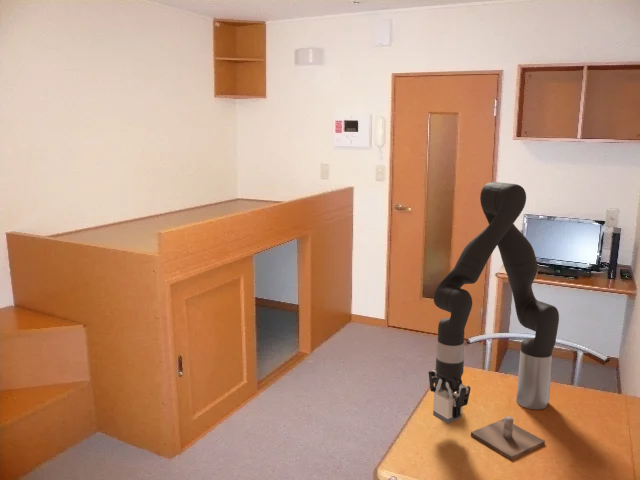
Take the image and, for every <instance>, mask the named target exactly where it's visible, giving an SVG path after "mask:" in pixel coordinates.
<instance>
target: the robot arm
mask: <svg viewBox="0 0 640 480" xmlns="http://www.w3.org/2000/svg"><path fill="white" fill-rule="evenodd" d="M479 196H480V206H481V209H482V211H483V214H484V216H485V218H486V220H487V223H488V225H487V226H486V227H485V229H483V230H482V231H481V232H480V233H479V234H478V235H476V236H475V237H474V238H473V239H471V240H470V241H469V242H468V243H467V245H466V246H465V247H463V250H462V252H461V254H460V256H459V258H458V259H457V261H456V263H455V265H454V267H453V268H452V269H451V271H449V273H447V275H446V276H445V277H444V278H443V279H442V280H441V281H440V282H439V283H438V285H437V286H436V288H435V290H434V293H433V303H434V305H435V307H437V308H438V309H440V310H443V311H445V312H448V313H450V317H445V318H442V319H440V321H439V322H438V324H437V325H438V326H437V342H436V343H437V344H436V350H435V352H436V353H435V369H431V370H429V371H428V380H429V390H430V392H433V393H434V392H437V391H439V392H440V391H442V390H446V391H447V392H448V393H449V396H450V398H451V399H453V410H452V417H453V418H457V417H459V416H460V414H461V407H462V408H463V407H464V406H467V405H468V403H469V398H470V393H471V389H472V388H471V387H470V386H469V385H467V386H466V385H465V384H464V383H463V381H462V376H463V374H464V369H465V368H464V365H465V364H464V363H465V329H466V325H467V323H468V319H469V316H470V314H471V310H472V308H473V299H472V295H471V293H470V292H469V291H468V290H466V289H464V288H461V287H463V286H464V285H473V284H476V282H478V280H479V279H480V277H481V275H482V273H483V271H484V268H485V267H486V265H487V262H488V260H489V259H490V257H491V256H492V254H493V252H494V250H495V249H496V248H497V249H498V251H499V254H500V257H501V261H502V264H503V267H504V270H505V273H506V276H507V279H508V281H509V285H510V288H511V293H512V297H513V301H514V307H515V312H516V317H517V320H518V322H519V324H520V325H521V326H523V327H524V328H525V329H528V330H531V331H533V332H535V336H534V337H531V338H530V337H529V338H525V339H523V340H522V341H521V344H520V353H519V362H518V363H519V364H518V375H517V377H518V378H517V386H516V387H517V388H516V399H515V401H516V403H517V404H518V405H520V406H521V407H523V408H525V409H526V408H527V409H530V410H544V409H546V408H547V406H548V404H549V402H550V393H551V384H552V374H551V369H552V360H553V359H552V358H553V350H554V348H555V346H556V343H557V341H556V340H557V335H558V330H559V323H560V314H559V310H558V309H557V307H556V306H555V305H552V304H549V303H547V302H543V301H539V300H537V298H536V297H535V294H534V291H533V282H534V281H535V279H536V277H537V275H538V272H539V271H538V270H539V266H538V261H537V257H536V254H535V251H534V248H533V246H532V244H531V242H529V240H528V239H527V237H525V235H524V234H523V233H522V232H521V231H520V230H519V229H518V227H517V226H516V225H515V224H514V223H515V222H516V220H517V219H518V218H519V216H520V215H521V213H522V212H523V210H524V208H525V206H526V203H527V193H526V191H525V188H523V186H521V185H519V184H515V183H510V182H509V183H508V182H499V181H497V182H496V181H491V182H488V183H485V184H484V186H483V187H482V188H481V192H480V195H479ZM454 392H456V393H455V394H453V393H454ZM456 397H458V401H456Z"/></svg>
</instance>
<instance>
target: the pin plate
mask: <svg viewBox="0 0 640 480" xmlns="http://www.w3.org/2000/svg"><path fill="white" fill-rule="evenodd" d="M470 437H473V438H474V439H475V440H477V441H479V442H481V443H482V444H484V445H486V446H487V447H489V448H491V449H492V450H494V451H496V452H497V453H498V454H501V455H502V456H504V458H507V459H508V460H511V461H513V460H514V459H517V458H519V457H521V456H523V455H525V454H527V453H529V452H531V451H534V450H535V449H536V450H537V449H538V448H540V447H542V446H544V445H545V444H546V440H544V439H542V438H540V437H538V436H537V435H535V434H533V433H531V432H530V431H527V430H526V429H523V428H522V427H520V426H518V425H517V424H515V423H514V418H513V417H512V416H509V415H508V416H507V415H506V416H504V418H503V419H499V420H497V421H495V422H493V423H489V424H487V425H484V426H483V427H480V428H478V429H475V430H473V431H470Z"/></svg>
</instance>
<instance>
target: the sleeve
mask: <svg viewBox="0 0 640 480" xmlns="http://www.w3.org/2000/svg"><path fill="white" fill-rule="evenodd" d="M455 393H456V392H454V393H453V394H455ZM456 401H458V397H456ZM432 405H433V410H432V414H433V415H432V416H434V417H435V418H437V419H439V421H442V422H443V423H445V424H447V425H448V424H451V423H454V422H456V421H459V420H461V419H463V406H462V407H461V414H460V416H459V417H457V418H453V417H452V410H453V399H451V398H450V396H449V393H448V392H447V391H446V390H442V391H440V392H439V391H437V392H433V404H432Z"/></svg>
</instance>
